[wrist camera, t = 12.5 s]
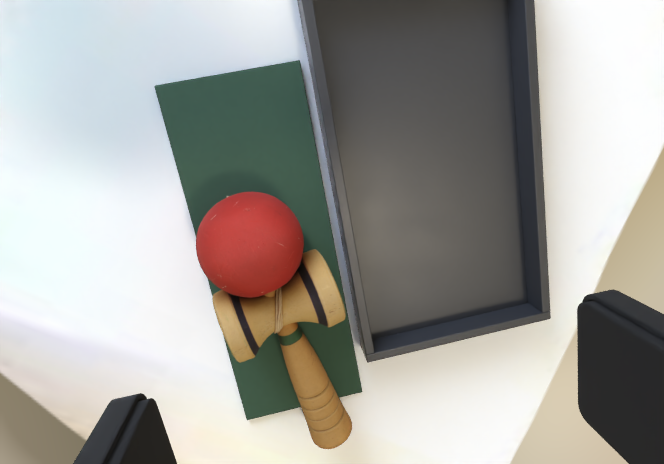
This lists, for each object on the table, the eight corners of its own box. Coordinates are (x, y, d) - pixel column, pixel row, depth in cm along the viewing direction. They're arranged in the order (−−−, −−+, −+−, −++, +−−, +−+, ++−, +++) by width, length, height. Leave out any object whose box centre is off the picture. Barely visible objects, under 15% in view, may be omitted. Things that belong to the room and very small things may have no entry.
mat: (155, 86, 24) (154, 85, 24) (299, 61, 25) (299, 60, 25) (247, 417, 30) (247, 420, 30) (361, 389, 31) (362, 392, 31)
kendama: (382, 379, 32) (303, 160, 25) (394, 453, 26) (295, 196, 19) (287, 403, 33) (184, 198, 26) (279, 479, 27) (143, 244, 20)
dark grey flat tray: (296, -7, 24) (298, -19, 22) (511, -42, 25) (531, -57, 23) (361, 347, 30) (367, 363, 28) (533, 306, 31) (550, 318, 29)
